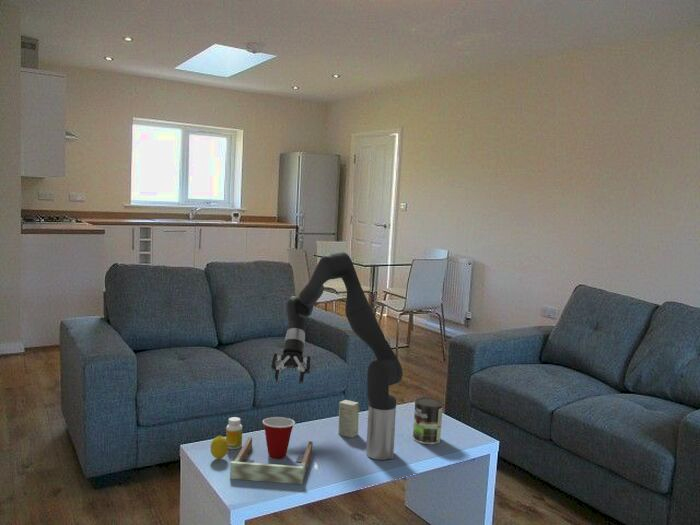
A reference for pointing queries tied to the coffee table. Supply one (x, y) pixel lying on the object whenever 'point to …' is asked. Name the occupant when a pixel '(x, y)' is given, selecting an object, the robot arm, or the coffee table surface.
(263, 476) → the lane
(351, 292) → the robot arm
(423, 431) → the coffee can
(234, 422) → the supplement bottle
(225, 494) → the coffee table surface
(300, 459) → the pads
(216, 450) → the lemon
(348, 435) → the skincare box
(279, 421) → the plastic cup
